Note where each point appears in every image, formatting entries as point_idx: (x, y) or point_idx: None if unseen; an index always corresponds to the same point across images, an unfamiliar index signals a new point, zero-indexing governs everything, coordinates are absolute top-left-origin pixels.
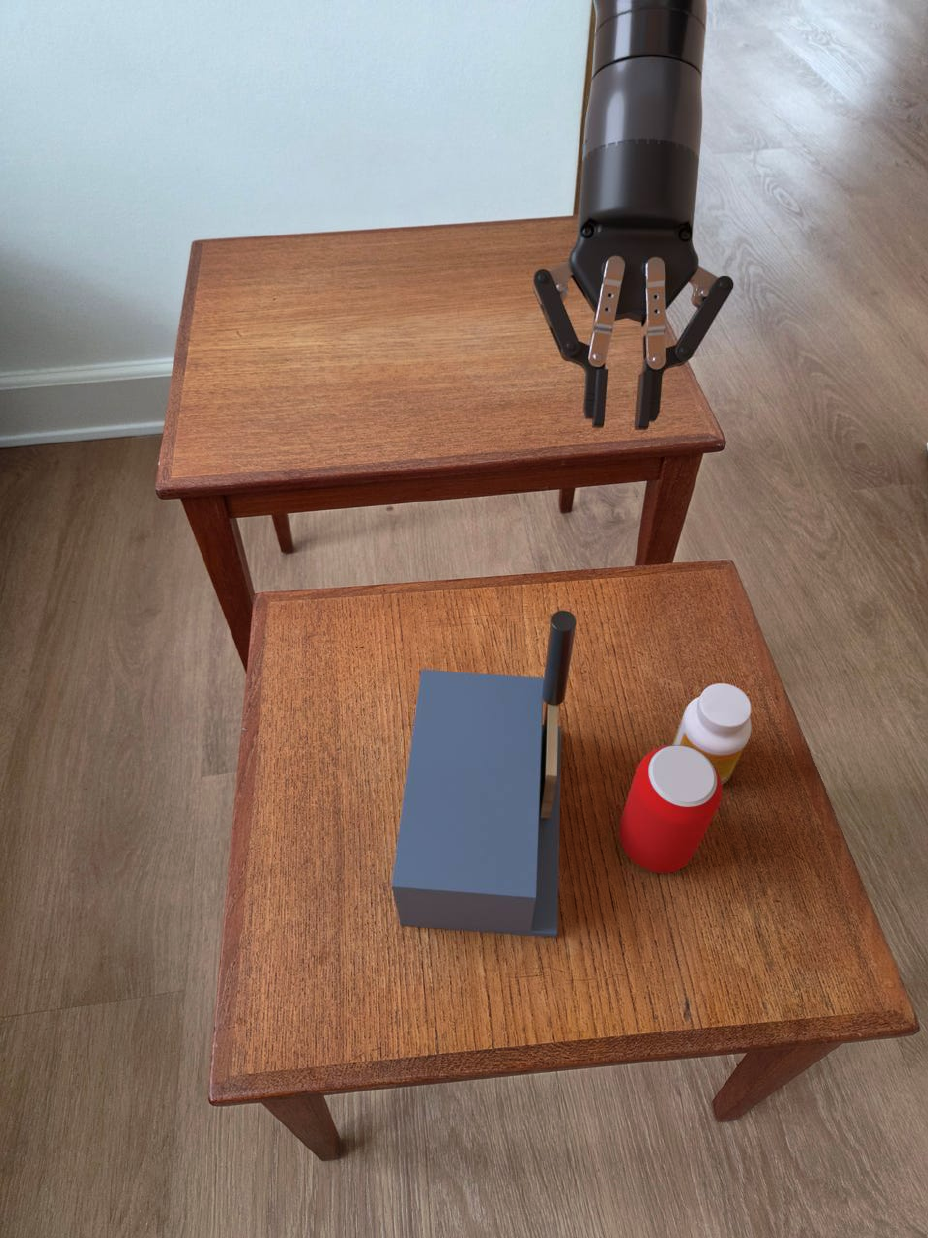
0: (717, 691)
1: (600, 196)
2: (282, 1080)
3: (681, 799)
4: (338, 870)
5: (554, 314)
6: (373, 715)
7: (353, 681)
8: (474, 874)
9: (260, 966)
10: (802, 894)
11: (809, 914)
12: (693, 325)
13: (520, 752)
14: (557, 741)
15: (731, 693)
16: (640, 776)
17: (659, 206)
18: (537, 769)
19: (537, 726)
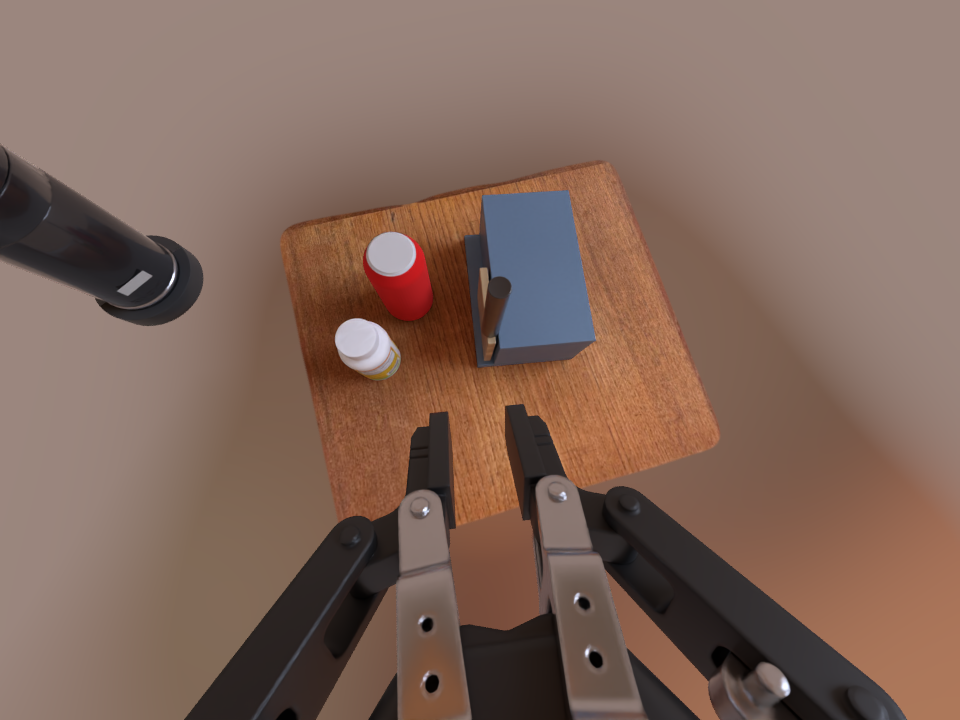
0: (361, 347)
1: None
2: (584, 163)
3: (392, 234)
4: (593, 256)
5: (721, 574)
6: (608, 359)
7: (631, 384)
8: (521, 203)
9: (615, 205)
10: (321, 283)
11: (319, 273)
12: (314, 610)
13: None
14: (482, 293)
15: (349, 348)
16: (421, 256)
17: None
18: (493, 274)
19: None
